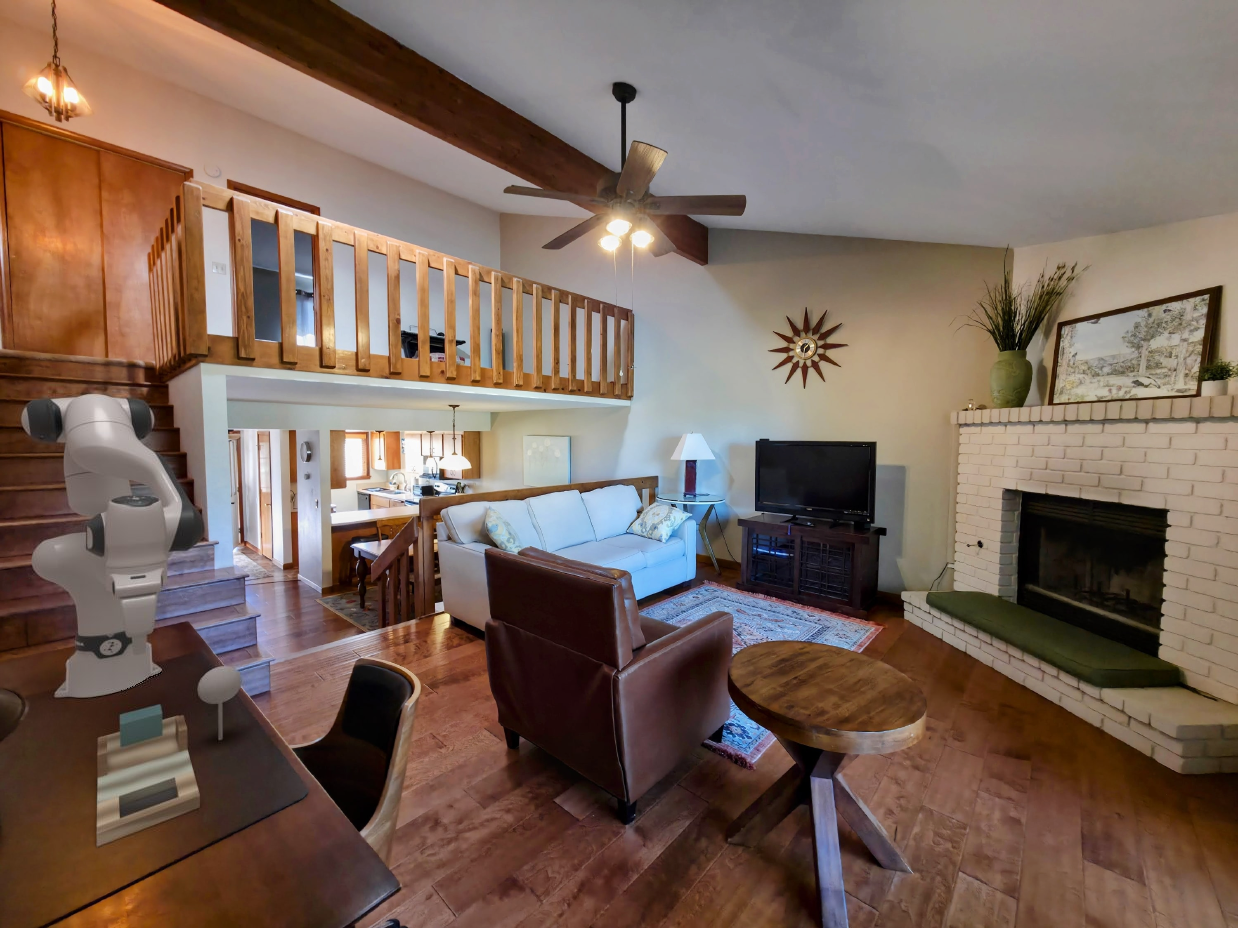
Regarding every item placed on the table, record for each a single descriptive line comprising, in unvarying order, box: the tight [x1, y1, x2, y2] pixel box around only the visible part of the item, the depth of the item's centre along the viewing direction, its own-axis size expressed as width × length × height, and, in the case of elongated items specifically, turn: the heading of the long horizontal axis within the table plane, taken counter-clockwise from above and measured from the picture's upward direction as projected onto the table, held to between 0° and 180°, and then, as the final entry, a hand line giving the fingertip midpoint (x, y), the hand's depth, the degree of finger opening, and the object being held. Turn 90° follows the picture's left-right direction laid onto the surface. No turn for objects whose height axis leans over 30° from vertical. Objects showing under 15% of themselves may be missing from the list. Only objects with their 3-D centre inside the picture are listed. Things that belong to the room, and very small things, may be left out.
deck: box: [96, 714, 201, 848], centre depth 92 cm, size 35×12×6 cm, turn 46°
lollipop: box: [197, 665, 243, 741], centre depth 103 cm, size 7×7×15 cm
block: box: [119, 703, 163, 747], centre depth 101 cm, size 5×6×4 cm
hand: (139, 646), depth 100 cm, fingers open, 8 cm apart
